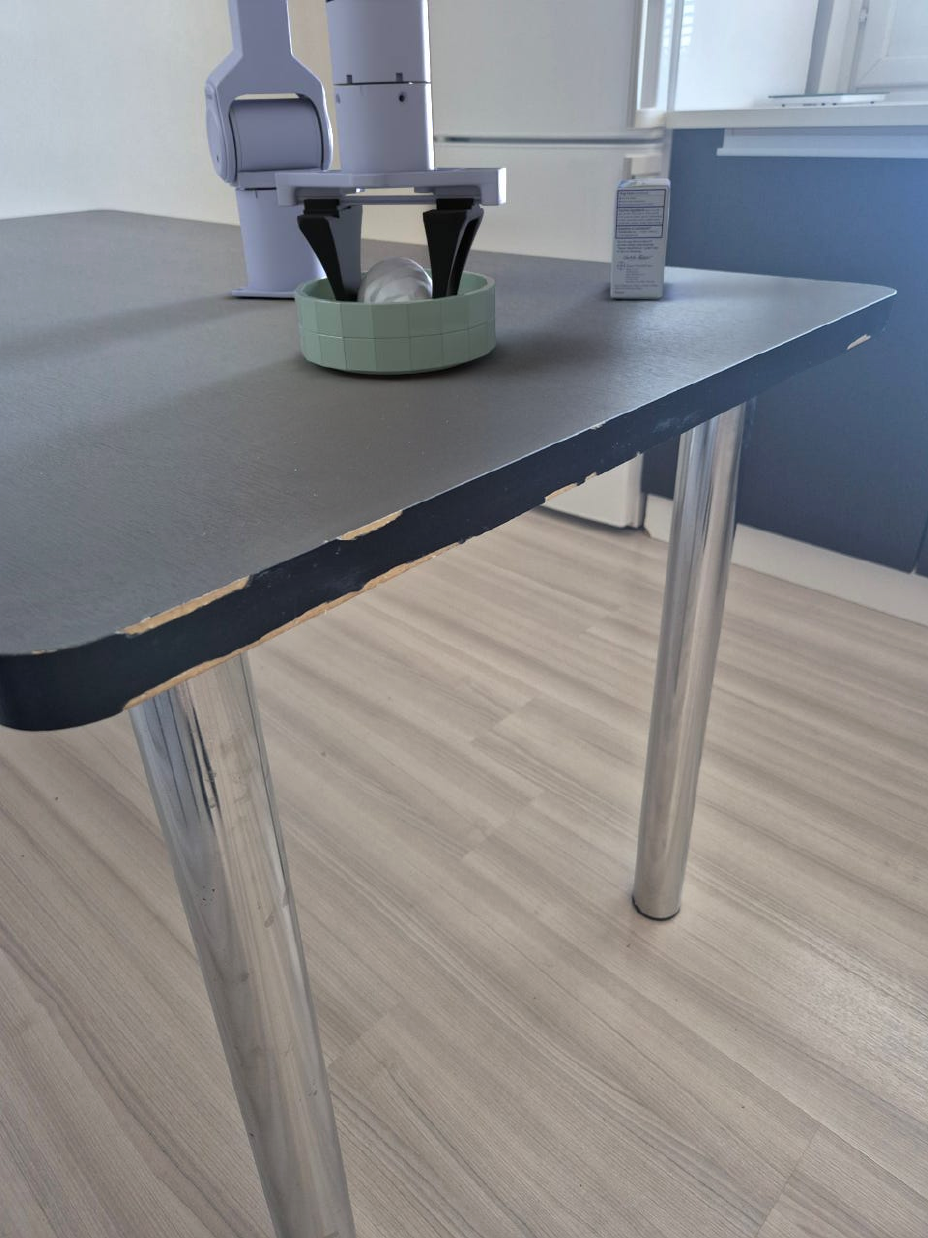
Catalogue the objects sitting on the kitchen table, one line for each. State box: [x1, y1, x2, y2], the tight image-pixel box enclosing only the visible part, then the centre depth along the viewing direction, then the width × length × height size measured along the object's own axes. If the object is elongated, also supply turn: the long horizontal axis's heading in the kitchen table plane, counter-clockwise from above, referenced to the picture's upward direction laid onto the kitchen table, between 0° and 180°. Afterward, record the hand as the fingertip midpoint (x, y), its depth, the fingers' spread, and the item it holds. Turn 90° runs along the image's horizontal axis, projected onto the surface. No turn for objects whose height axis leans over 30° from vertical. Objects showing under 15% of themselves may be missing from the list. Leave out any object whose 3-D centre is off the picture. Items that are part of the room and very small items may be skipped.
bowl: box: [294, 267, 497, 376], centre depth 56 cm, size 13×13×4 cm
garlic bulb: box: [357, 257, 432, 303], centre depth 56 cm, size 6×6×5 cm
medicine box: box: [610, 178, 671, 300], centre depth 72 cm, size 8×4×9 cm, turn 168°
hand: (398, 325), depth 56 cm, fingers closed on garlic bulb, 6 cm apart
